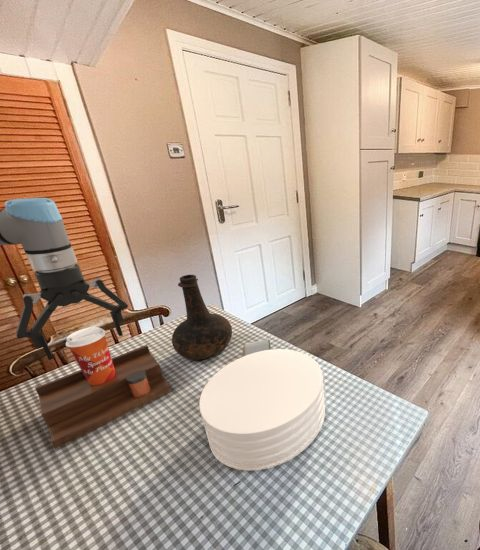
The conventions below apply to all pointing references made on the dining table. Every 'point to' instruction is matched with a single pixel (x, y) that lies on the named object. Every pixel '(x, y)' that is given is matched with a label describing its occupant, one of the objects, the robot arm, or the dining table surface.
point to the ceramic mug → (256, 347)
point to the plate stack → (263, 408)
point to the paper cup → (92, 354)
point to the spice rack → (97, 397)
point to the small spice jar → (138, 383)
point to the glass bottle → (199, 326)
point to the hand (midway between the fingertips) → (87, 345)
